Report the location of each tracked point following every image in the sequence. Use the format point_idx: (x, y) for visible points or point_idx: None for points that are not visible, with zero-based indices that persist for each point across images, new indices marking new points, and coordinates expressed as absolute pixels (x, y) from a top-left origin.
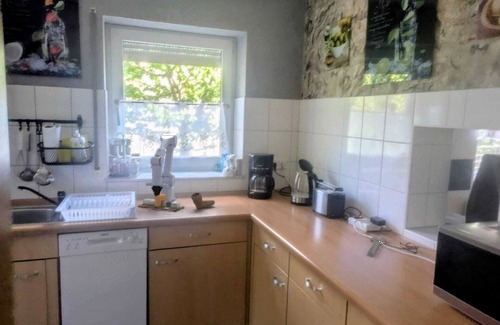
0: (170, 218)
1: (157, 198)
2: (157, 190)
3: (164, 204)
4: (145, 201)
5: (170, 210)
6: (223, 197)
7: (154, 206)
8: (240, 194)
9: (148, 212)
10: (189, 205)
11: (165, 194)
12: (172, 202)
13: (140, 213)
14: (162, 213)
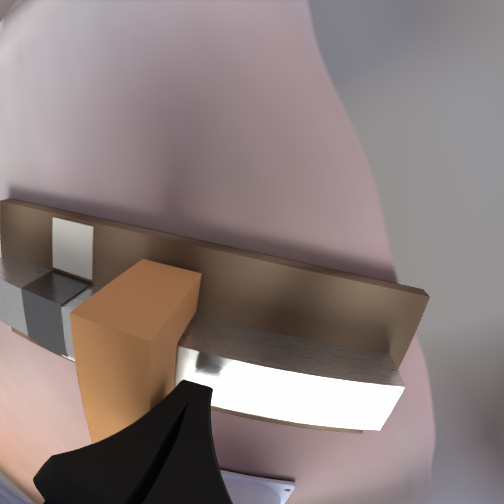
0: (9, 25)
1: (118, 310)
2: (89, 450)
3: None
4: (366, 369)
5: (39, 206)
6: None
7: (220, 288)
8: (33, 499)
9: (210, 80)
10: (35, 387)
11: None
12: (18, 303)
13: (281, 23)
14: (70, 102)
